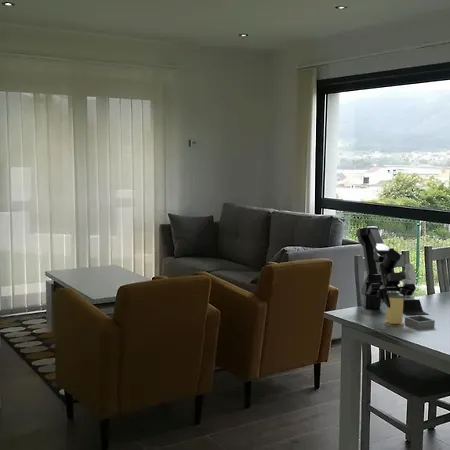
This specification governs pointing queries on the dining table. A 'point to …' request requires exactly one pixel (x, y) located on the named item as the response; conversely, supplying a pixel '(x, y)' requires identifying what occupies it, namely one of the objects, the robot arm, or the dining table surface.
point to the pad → (393, 324)
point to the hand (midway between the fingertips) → (395, 307)
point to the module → (395, 308)
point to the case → (419, 322)
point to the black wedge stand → (413, 308)
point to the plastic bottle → (409, 279)
